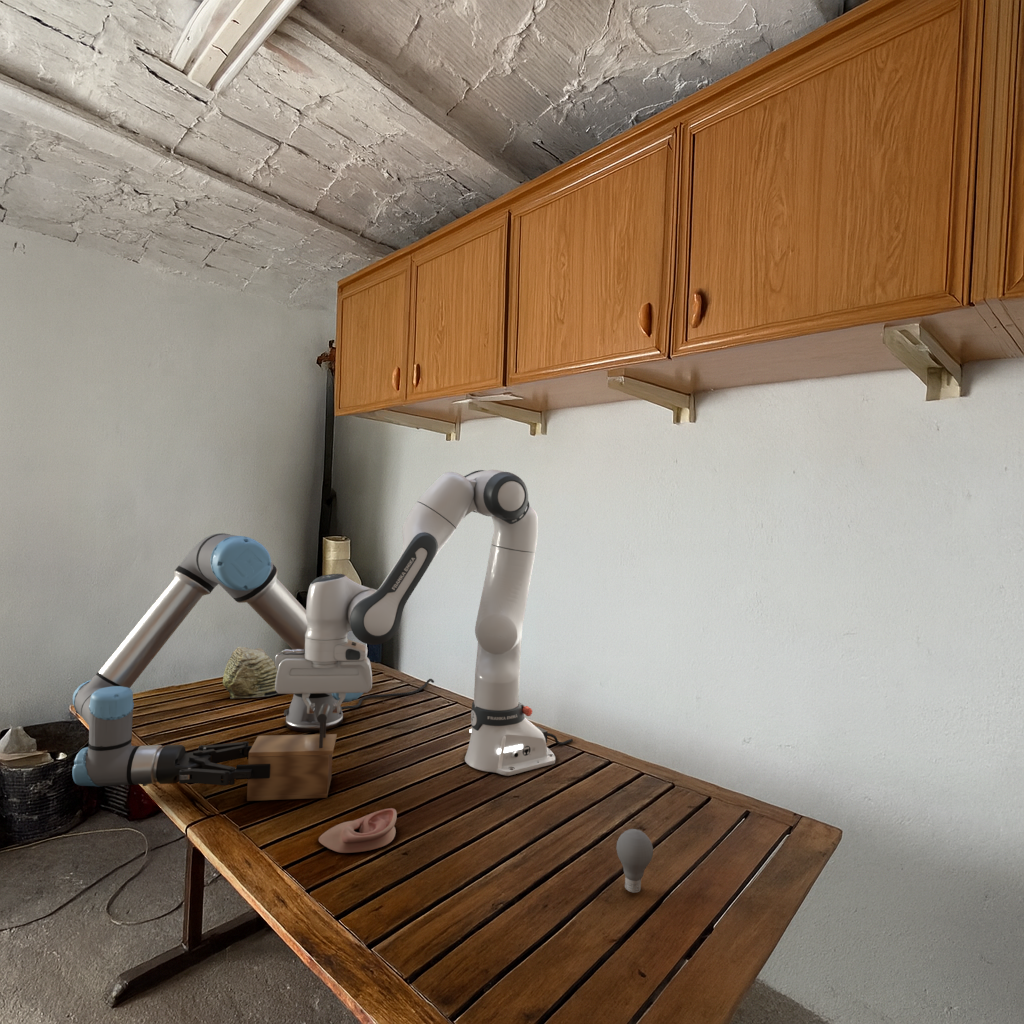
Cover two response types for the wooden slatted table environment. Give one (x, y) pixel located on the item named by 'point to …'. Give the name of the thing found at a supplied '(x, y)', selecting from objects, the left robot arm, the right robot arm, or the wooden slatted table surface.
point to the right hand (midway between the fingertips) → (323, 712)
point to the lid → (297, 742)
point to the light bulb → (634, 857)
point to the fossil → (250, 674)
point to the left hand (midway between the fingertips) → (274, 761)
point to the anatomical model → (362, 833)
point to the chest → (291, 778)
